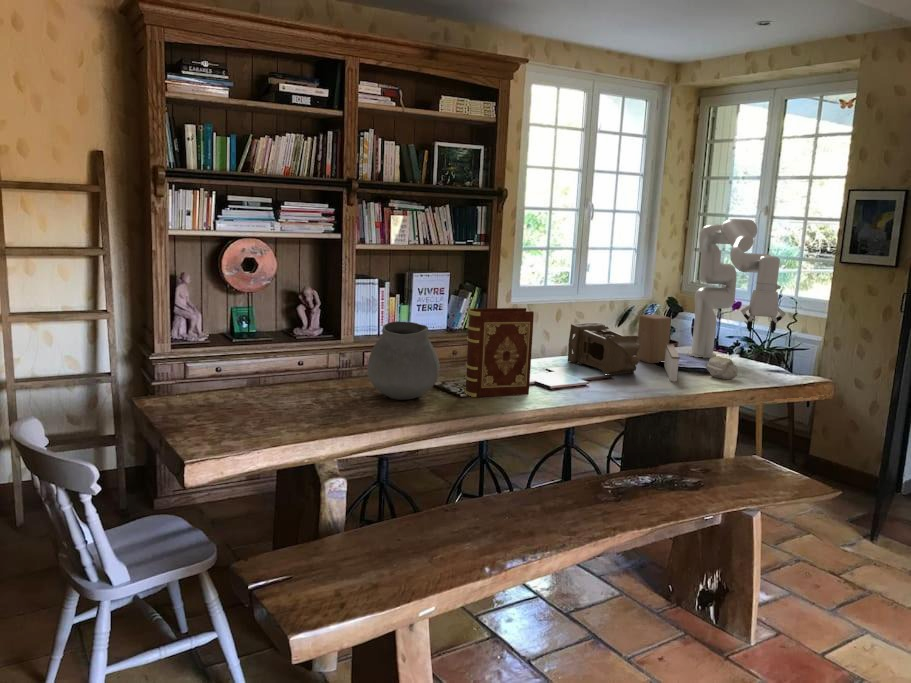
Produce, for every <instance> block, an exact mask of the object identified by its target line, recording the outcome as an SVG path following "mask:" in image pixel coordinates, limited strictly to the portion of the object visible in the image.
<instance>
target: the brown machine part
mask: <svg viewBox="0 0 911 683" xmlns="http://www.w3.org/2000/svg"><path fill="white" fill-rule="evenodd" d="M569 330H570V331H569V338H568V349H567V350H568V351H567V362H569V363H573V364H574V363H577V365H579V366H580V365H587V366H590V367H593V368H596V369H599V370H601V372H602V373H603V375H604V374H613V375H612V376H614V375H615V376H616V375H626V374H635V371H637V365H638V364H639V363H640V361H641V360H639V357H638V356H637V353H638V351H639V349H640V348H639V347H640V345H639V343H638V338H639V336H638V335H624V334H622V333H619V332H616V331H615V330H612V329H610V328H609V327H608V326H606V325H605V324H604V323H602V322H599V321H598V322H580V323H579V322H578V323H577V322H576V323H571V324H570V329H569Z"/></svg>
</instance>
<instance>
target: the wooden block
mask: <svg viewBox="0 0 911 683" xmlns="http://www.w3.org/2000/svg"><path fill="white" fill-rule="evenodd" d="M638 320H639V321H638V329H637V330H638V331H637V336H639V338H638V343H639V345H640V347H639V348H640V349H639V351H638V353H637V356H638V357H639V360H640V361H642V362H644V363H647V364H660V363H659V362H661V361H665V353H666V344H670V334H671V326H672V318H671V317H669V316H665V315H662V314H657V313H653V314H641V315H639V318H638Z"/></svg>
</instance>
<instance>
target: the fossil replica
mask: <svg viewBox="0 0 911 683" xmlns="http://www.w3.org/2000/svg"><path fill="white" fill-rule="evenodd" d="M706 370H707V371H708V372H709V373H710V376H712V377H713V378H717V379H722V380H724V381H727V380H732V379H735V378H736V377H737V375H738V367H736V366H735V365H734V362H733V360H732V359H731V358H727V357H722V356H720V355H719V356H717V355H716V357H713V358H709V360H708V363H707V364H706Z"/></svg>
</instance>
